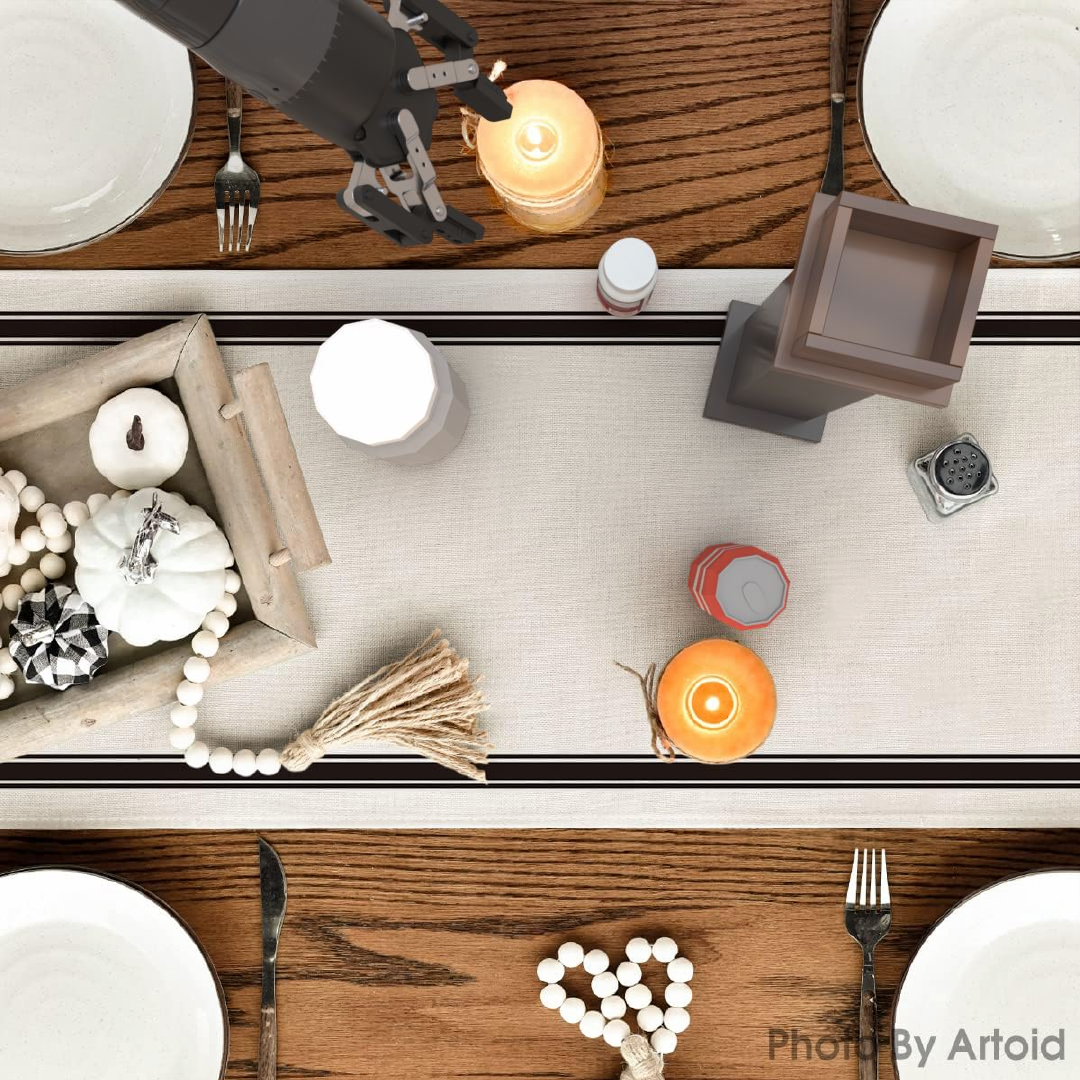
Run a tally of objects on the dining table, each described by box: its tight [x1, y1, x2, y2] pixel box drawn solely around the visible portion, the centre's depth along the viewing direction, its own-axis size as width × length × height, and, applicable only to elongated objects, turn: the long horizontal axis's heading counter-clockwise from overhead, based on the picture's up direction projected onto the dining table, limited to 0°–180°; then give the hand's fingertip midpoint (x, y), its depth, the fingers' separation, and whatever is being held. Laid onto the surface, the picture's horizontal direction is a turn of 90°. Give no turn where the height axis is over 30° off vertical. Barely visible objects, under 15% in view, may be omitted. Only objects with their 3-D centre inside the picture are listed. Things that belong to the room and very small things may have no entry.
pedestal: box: [701, 270, 877, 445], centre depth 66 cm, size 10×10×26 cm
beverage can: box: [687, 542, 791, 632], centre depth 73 cm, size 6×6×12 cm
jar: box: [309, 317, 472, 468], centre depth 71 cm, size 10×10×18 cm
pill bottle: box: [595, 237, 659, 318], centre depth 75 cm, size 5×5×8 cm
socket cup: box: [770, 189, 1000, 410], centre depth 51 cm, size 10×10×4 cm
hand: (489, 175), depth 63 cm, fingers open, 8 cm apart
